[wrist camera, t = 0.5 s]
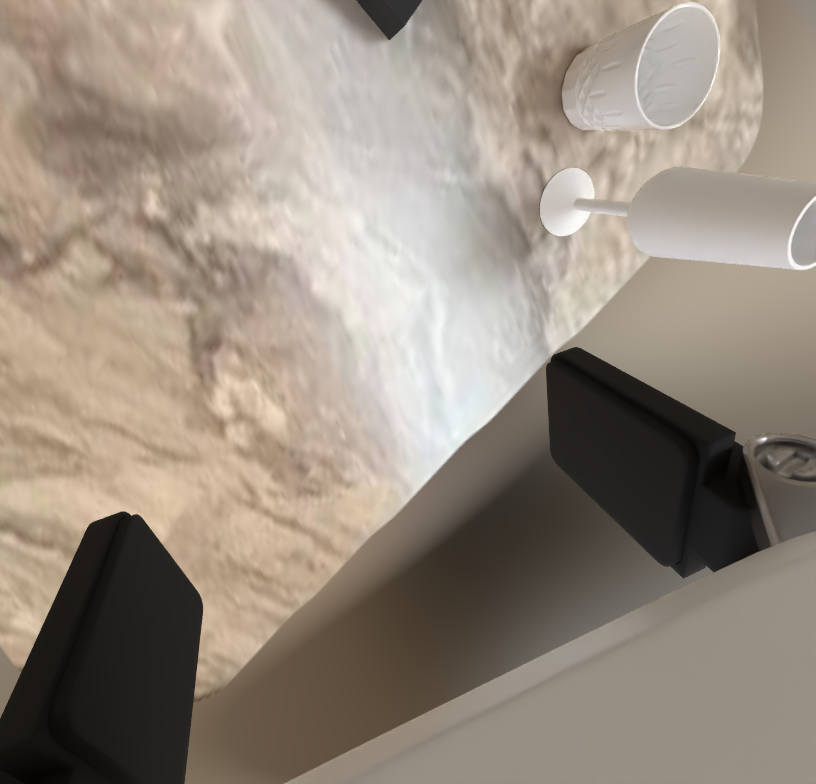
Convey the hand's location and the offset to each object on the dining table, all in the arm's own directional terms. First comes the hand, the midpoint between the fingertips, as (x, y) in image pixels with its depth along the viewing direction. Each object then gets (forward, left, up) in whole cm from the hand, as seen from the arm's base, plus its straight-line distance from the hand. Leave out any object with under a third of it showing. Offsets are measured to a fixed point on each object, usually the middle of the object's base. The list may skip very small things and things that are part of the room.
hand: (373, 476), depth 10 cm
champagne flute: (+21, +22, -35) cm, 46 cm away
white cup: (+15, +30, -35) cm, 48 cm away
